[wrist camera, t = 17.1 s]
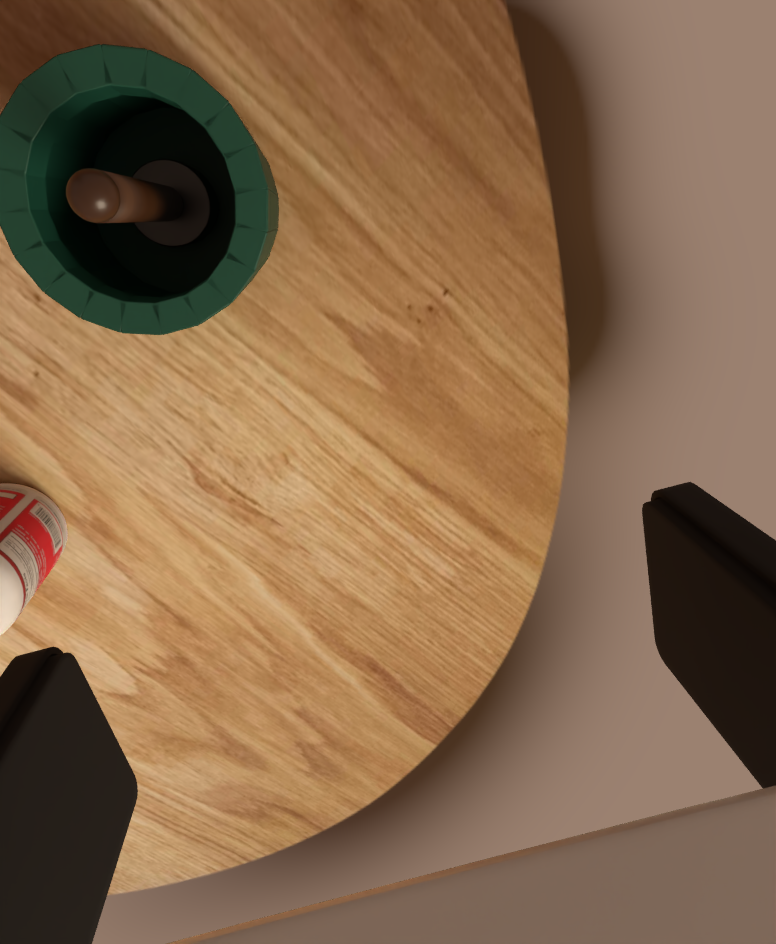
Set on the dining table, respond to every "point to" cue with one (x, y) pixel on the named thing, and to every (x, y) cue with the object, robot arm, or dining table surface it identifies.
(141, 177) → the brown pestle
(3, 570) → the pill bottle
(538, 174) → the dining table surface
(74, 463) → the dining table surface
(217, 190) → the jar
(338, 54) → the dining table surface
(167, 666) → the dining table surface
